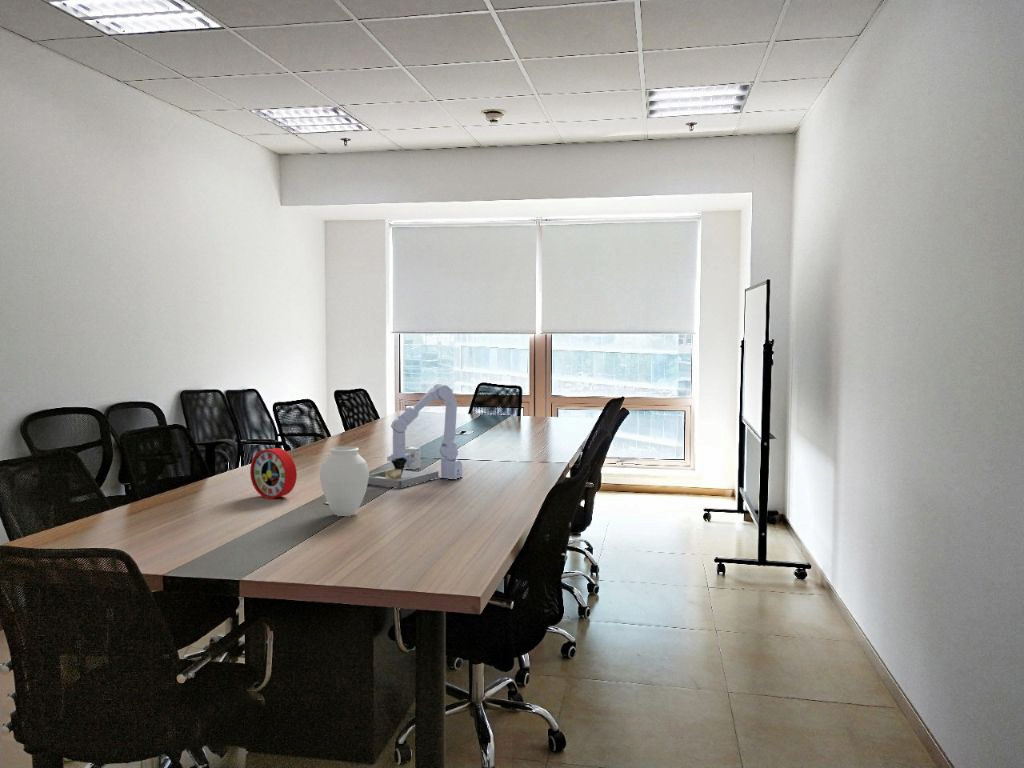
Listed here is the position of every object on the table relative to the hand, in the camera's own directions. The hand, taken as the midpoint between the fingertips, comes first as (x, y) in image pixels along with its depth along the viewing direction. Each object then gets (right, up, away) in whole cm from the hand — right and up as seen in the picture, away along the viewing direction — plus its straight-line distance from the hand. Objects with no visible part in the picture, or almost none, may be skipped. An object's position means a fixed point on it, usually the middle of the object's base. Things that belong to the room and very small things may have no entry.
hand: (399, 474), depth 351 cm
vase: (-11, -7, -64) cm, 66 cm away
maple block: (-2, -1, -3) cm, 4 cm away
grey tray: (+1, -3, +1) cm, 3 cm away
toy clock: (-47, -5, -35) cm, 58 cm away
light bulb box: (0, -1, +34) cm, 34 cm away
